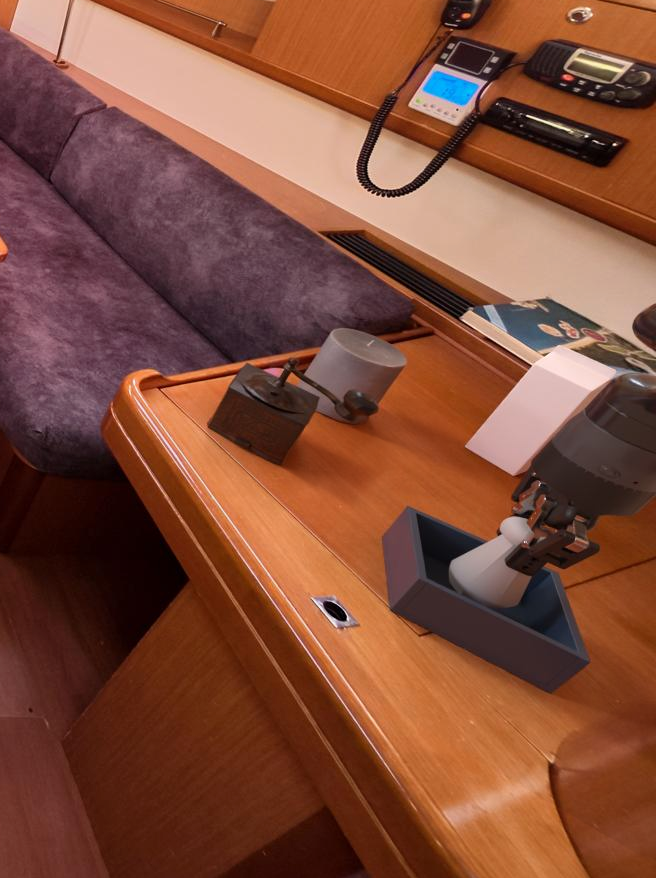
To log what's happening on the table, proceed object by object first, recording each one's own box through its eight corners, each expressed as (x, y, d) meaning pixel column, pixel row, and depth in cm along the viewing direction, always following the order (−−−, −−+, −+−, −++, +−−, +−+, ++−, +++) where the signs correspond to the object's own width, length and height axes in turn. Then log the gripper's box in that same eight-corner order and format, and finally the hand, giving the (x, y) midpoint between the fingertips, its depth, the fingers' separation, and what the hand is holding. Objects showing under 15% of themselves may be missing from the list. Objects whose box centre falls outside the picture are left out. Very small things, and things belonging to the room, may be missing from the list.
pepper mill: (203, 428, 107) (247, 348, 99) (223, 398, 113) (266, 321, 105) (321, 493, 96) (381, 410, 88) (336, 456, 102) (394, 376, 94)
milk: (513, 477, 99) (607, 376, 89) (462, 446, 105) (546, 347, 94) (535, 467, 101) (630, 367, 91) (484, 438, 106) (569, 340, 96)
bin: (524, 604, 82) (559, 572, 79) (551, 694, 73) (591, 663, 70) (381, 536, 90) (407, 505, 87) (389, 610, 81) (418, 578, 78)
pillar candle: (333, 384, 117) (374, 322, 110) (382, 426, 108) (430, 362, 101) (280, 382, 117) (318, 320, 110) (325, 424, 108) (369, 359, 101)
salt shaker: (504, 627, 76) (573, 563, 70) (436, 587, 80) (497, 524, 74) (508, 598, 79) (575, 535, 73) (443, 561, 83) (502, 498, 78)
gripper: (691, 527, 61) (577, 623, 69) (640, 439, 71) (544, 533, 79) (572, 481, 66) (477, 576, 74) (539, 405, 75) (458, 496, 83)
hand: (512, 553), depth 76 cm, fingers closed on salt shaker, 4 cm apart
